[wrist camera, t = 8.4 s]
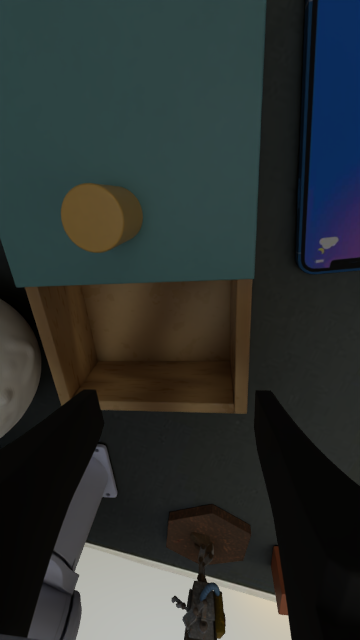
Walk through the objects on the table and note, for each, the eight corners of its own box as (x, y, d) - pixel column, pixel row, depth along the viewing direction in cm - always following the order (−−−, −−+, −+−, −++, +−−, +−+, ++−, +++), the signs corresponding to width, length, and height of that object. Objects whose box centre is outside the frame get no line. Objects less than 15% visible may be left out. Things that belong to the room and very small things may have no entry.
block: (270, 565, 34) (278, 614, 30) (273, 545, 32) (281, 594, 28) (307, 569, 34) (320, 619, 30) (312, 548, 32) (326, 599, 28)
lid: (22, 284, 15) (-29, 308, 12) (-79, -41, 10) (-217, -153, 7) (252, 275, 14) (265, 300, 10) (269, -115, 9) (303, -307, 5)
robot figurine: (171, 495, 31) (148, 660, 20) (254, 508, 30) (278, 686, 19) (166, 550, 35) (145, 707, 24) (238, 562, 35) (250, 730, 24)
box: (94, 363, 24) (62, 409, 19) (60, 211, 19) (2, 216, 14) (239, 363, 23) (247, 414, 17) (243, 198, 18) (255, 198, 12)
